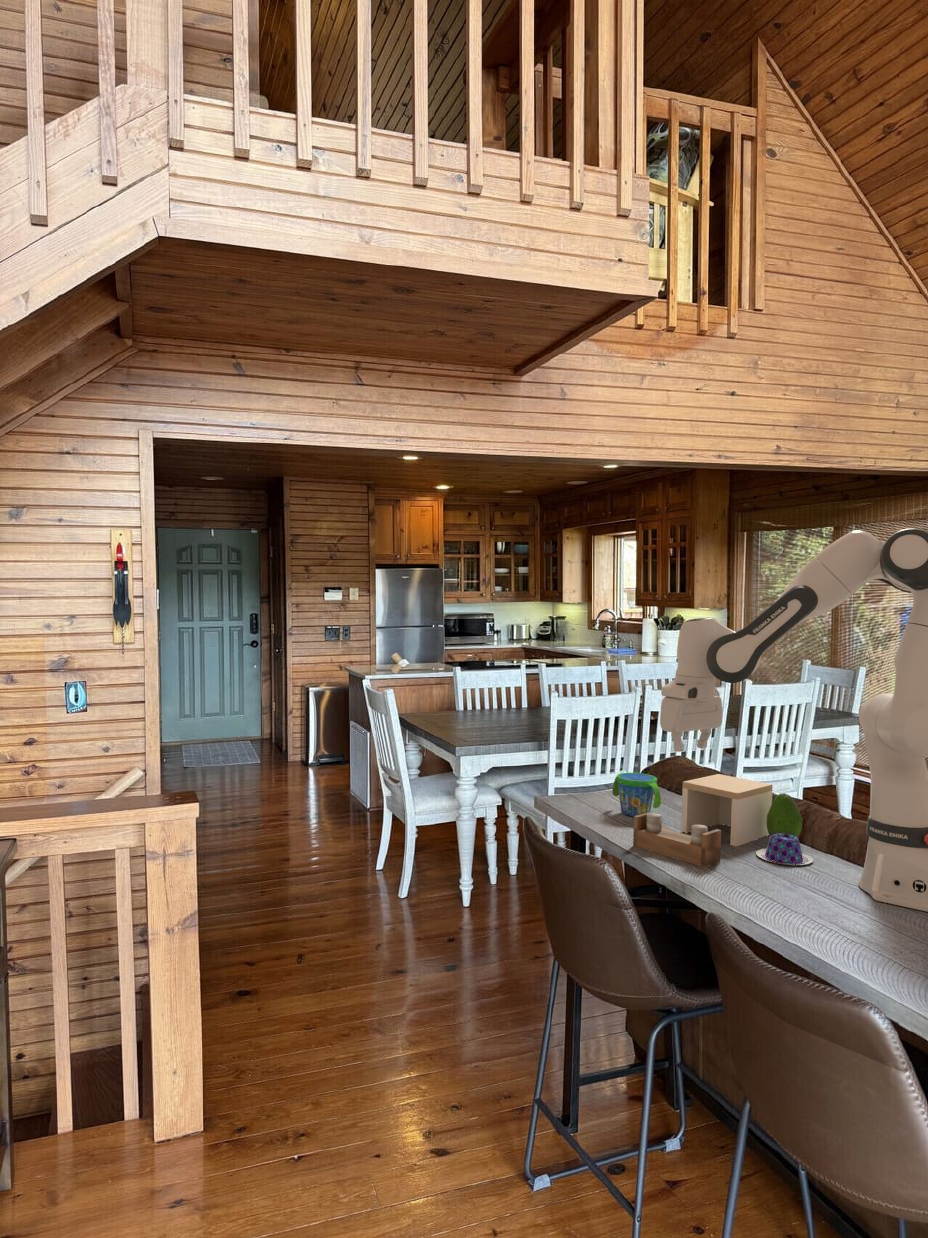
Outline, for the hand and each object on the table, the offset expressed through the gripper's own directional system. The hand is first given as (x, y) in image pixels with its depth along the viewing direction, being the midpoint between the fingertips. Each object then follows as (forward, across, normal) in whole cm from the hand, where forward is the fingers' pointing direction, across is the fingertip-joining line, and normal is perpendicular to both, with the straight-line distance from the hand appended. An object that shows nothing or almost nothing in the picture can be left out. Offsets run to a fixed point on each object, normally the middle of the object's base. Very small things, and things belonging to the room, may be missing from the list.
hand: (690, 749), depth 188 cm
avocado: (+23, -26, +11) cm, 36 cm away
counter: (+23, -22, -2) cm, 32 cm away
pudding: (+23, -15, +17) cm, 32 cm away
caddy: (+24, +2, -1) cm, 24 cm away
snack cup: (+24, -20, -27) cm, 41 cm away
